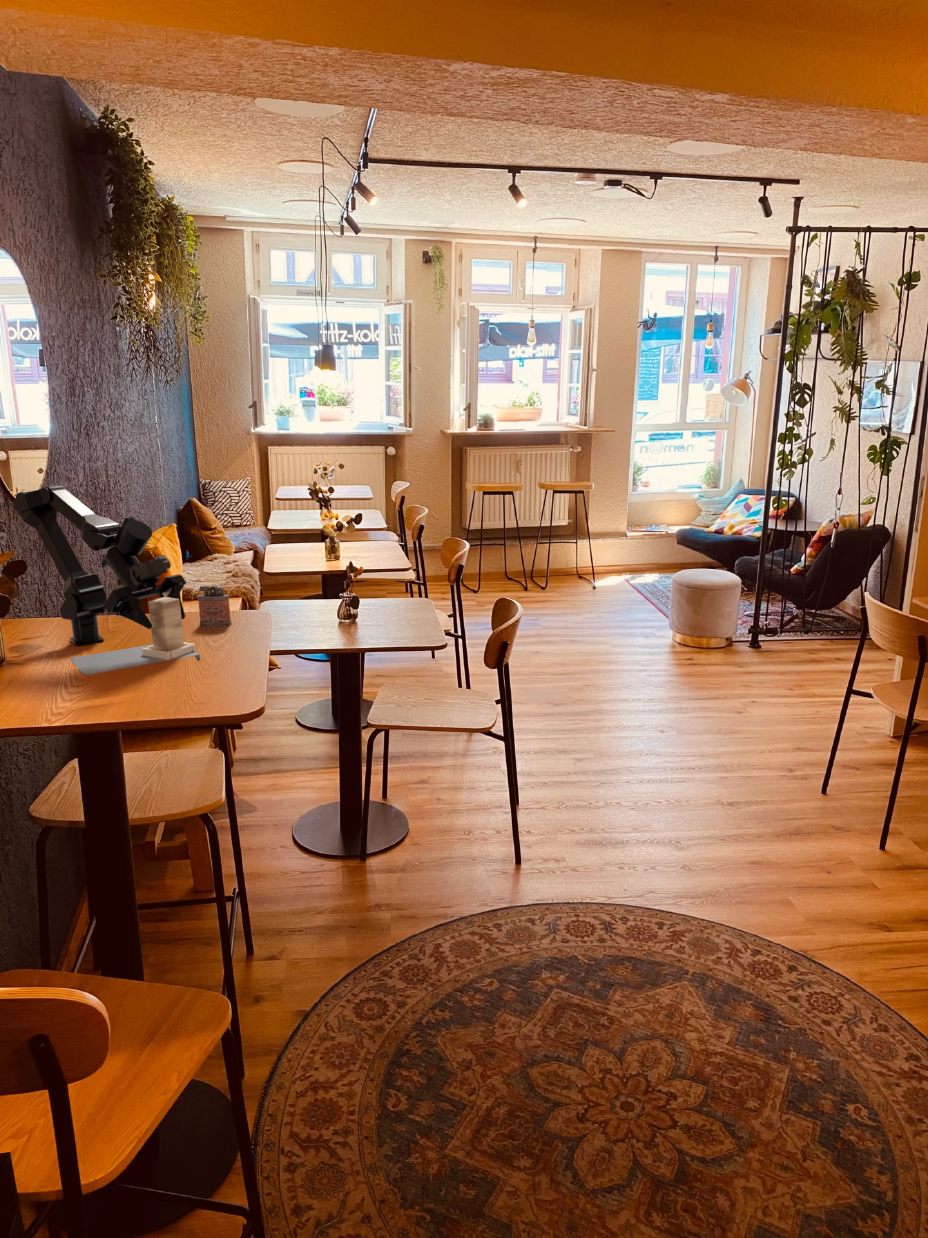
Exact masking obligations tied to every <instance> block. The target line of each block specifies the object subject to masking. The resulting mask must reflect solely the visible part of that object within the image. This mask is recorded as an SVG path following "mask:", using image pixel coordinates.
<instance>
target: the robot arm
mask: <svg viewBox="0 0 928 1238" xmlns="http://www.w3.org/2000/svg"><path fill="white" fill-rule="evenodd" d="M13 508H14V510H15V511H16V513H17V515H19V517H20V518H21V519H22V521H23V522H24V523H25V524H27V525H29V526H30V527H32V528H34V530H36V532H37V534H38V535H39V537H40V539H41V542H42V543H43V545H44V547H45V548H46V550H47V552H48V554H49V556H50V558H51V560H52V561H53V563H54V565H55V567H56V568H57V570H58V572H59V574H60V576H61V577H62V579H63V582H64V584H63V592H62V594H63V596H64V601H63V603H62V605H61V606H60V608H59V613H60V616H61V618H62V619H63V620H69V621H70V622H71V629H72V630H71V631H72V637H70V638H69V641H71V643H72V644H73V645H74V646H81V645H82V646H83V645H87V644H93V643H101V642H105V641H104V638H103V637H102V636H101V634H100V631H99V621H98V616H97V615H99V614H104V613H105V612H108V614H109V615H113V614H115V615H116V616H117V617H118V616H119V617H120V616H121V617H123V618H125V619H127V620H130V621H133V622H134V623H137V624H138V625H140V626H142V627H144V628H146V629H148V630H151V628H152V624H151V622H150V618H148V616H147V615H146V613H145V612H144V611H143V609H142V607H141V606H140V605H139V600H141V599H145V598H150V597H152V596H153V597H154V596H159V598H163V597H169V598H176V599H179V600H180V609H181V619H182V620H185V618H186V613H185V610H184V607H183V603H182V599H181V598H182V597H181V592H182V591H183V589H184V588H185V587H184V586H185V585H186V583H187V580H186V579H185V578H184V576H183V575H182V574H174V575H169V576H165V578H164V579H163V581H162V582H161V584H158V585H157V584H156V583H158V582H159V580H160V579H161V578H160V576H161V575H164V574H167V573H168V570H169V569H170V568H171V566H172V565H171V562H170V560H169V559H168V558H167V556H166V555H164V554H163V555H159V556H157V557H155V558H154V559H152V560H149V561H145V562H140V560H139V559H138V558H137V556H139V555H141V554H142V552H143V551H144V549H145V547H146V546H147V544H148V543H149V541H150V539H151V538H152V536H153V530H152V529H151V527H150V526H149V525H148V524H146V523H144V522H142V521H140V520H137V519H135V517H134V516H129V517H125V518H124V520H123V521H122V524H121V525H120V524H119V523H118V522H116V521H114V520H112V519H110V518H108V517H106V516H105V517H104V516H101V515H98V514H96V513H94V511H92V510H91V509H90V508H89V507H88V506H86V505H85V504H84V503H83V502H81V501H80V500H79V499H78V498H77V497H75V495H73V494H72V493H71V492H69V491H68V488H67V487H66V485H63V484H54V485H47V486H46V485H45V486H43V487H41V488H38V489H35V490H29V491H21V492H18V493H17V494H16V496H15V497H14V500H13ZM58 513H59V514H60V515H62V516H63V517H64V518H65V519H66V520H67V521H68V522H70V523H71V524H72V525H73V526H74V527H76V528H77V529H78V530H79V531H80V533H81V539H82V540H83V542H85V544H86V545H87V547H89V548H90V549H91V550H93V551H94V552H99V551H104V550H107V552H106V553H104V554H102V560H101V567H102V568H106V567H110V568H111V570H112V571H113V572H114V574H115V576H117V578H118V580H117V585H118V586H122V587H119V588H114V589H112V591H110V593H109V595H108V597H107V592H106V591H105V586H104V585H103V584H102V582H101V580H100V578H99V576H98V575H97V574H96V573H92V574H89V573H88V572H86V571H85V569H84V568H83V566H82V564H81V562H80V561H79V559H78V557H77V555H76V553H75V551H74V549H73V547H72V546H71V544H70V542H69V540H68V538H67V537H66V535H65V533H64V531H63V530H62V527H61V526H60V524H59V522H58V520H57V517H58Z"/></svg>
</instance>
